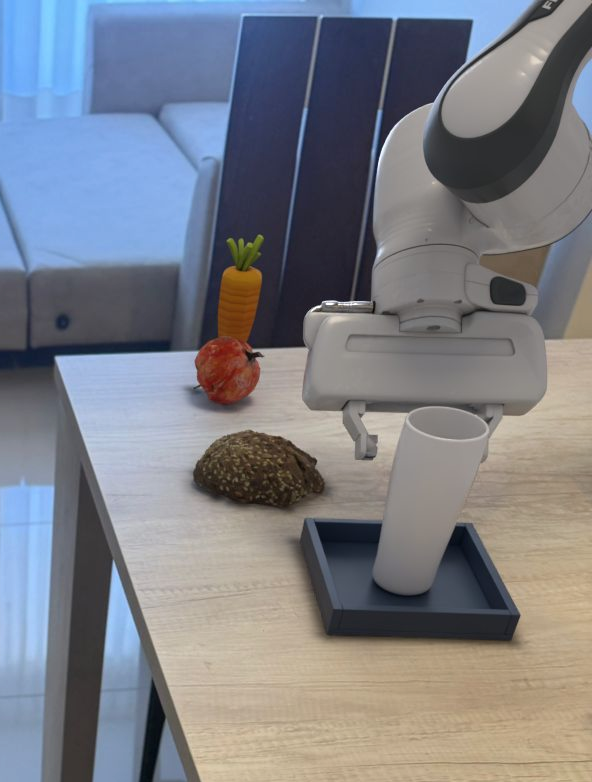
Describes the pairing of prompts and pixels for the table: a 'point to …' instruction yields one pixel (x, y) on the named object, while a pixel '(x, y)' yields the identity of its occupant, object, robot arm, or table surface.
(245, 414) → the table surface
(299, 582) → the table surface
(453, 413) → the white cup
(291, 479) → the bread roll
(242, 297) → the carrot
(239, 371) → the pomegranate
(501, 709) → the table surface
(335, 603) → the dark blue-gray tray
